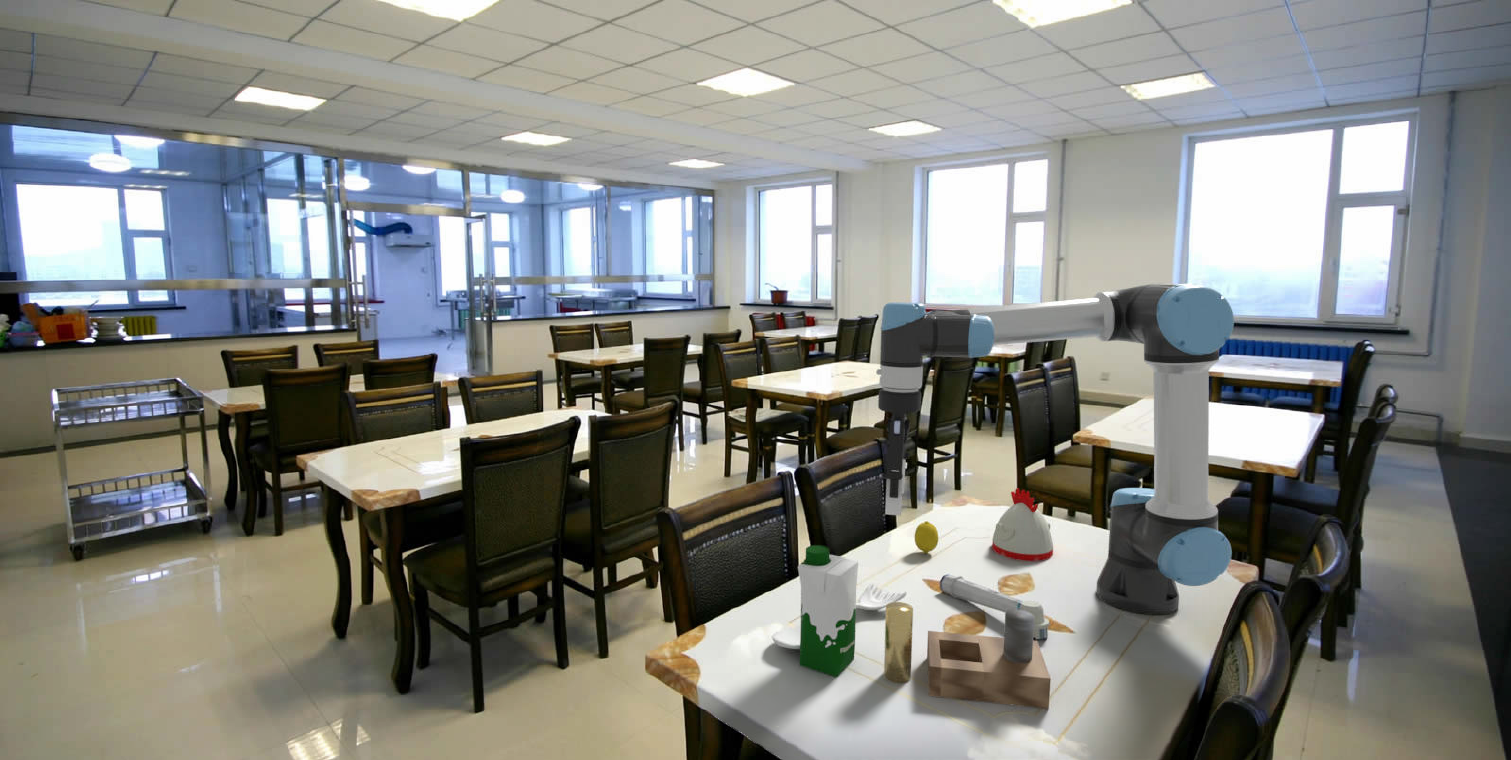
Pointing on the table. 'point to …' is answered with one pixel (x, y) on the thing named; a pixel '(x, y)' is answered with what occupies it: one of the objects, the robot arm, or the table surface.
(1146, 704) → the table surface
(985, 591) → the grey bent pipe
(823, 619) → the milk carton
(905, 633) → the gold cylinder
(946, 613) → the table surface
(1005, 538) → the kitchen timer
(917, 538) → the lemon
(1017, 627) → the jig
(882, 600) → the white spork
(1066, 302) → the robot arm
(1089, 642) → the table surface
